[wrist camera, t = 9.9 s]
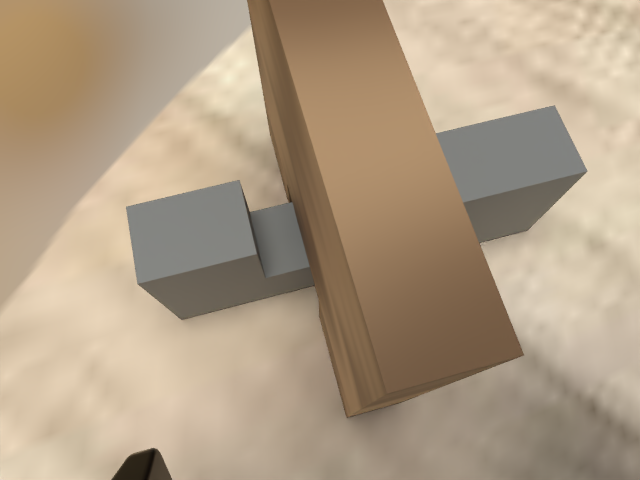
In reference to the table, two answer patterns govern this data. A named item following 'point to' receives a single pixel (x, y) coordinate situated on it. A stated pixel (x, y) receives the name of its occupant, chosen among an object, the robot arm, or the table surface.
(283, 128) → the walnut plate
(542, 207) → the charcoal rail
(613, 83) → the table surface
